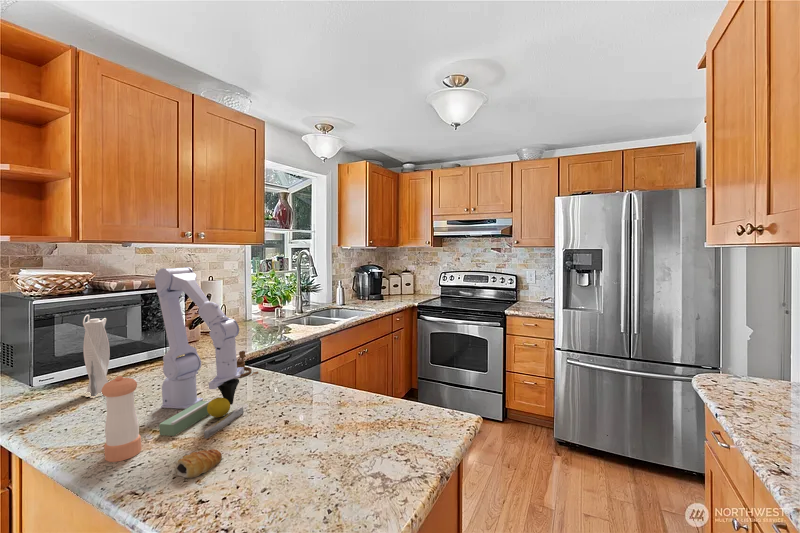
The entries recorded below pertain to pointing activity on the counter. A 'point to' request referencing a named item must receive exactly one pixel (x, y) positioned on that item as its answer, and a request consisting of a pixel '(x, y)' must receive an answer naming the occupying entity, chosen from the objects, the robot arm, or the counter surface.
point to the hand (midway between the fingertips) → (228, 404)
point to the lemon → (218, 407)
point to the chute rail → (223, 422)
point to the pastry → (197, 463)
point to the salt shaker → (121, 420)
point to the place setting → (242, 364)
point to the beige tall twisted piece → (96, 354)
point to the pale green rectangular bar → (184, 419)
